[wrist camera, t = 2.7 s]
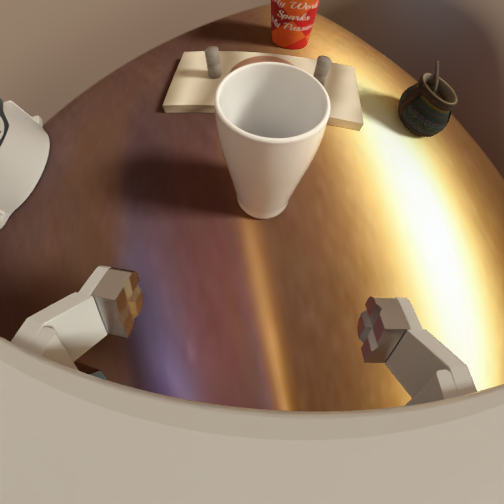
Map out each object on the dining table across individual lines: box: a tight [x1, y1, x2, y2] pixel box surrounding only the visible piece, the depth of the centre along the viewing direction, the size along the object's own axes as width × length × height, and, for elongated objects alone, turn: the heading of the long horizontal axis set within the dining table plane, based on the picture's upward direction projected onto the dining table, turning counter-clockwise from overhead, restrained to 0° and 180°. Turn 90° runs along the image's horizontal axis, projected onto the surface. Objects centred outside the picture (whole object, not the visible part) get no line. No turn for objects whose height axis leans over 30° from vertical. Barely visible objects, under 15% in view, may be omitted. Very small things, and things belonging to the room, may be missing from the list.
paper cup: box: [271, 0, 320, 49], centre depth 27 cm, size 8×8×14 cm
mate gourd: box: [398, 59, 457, 137], centre depth 26 cm, size 7×8×10 cm
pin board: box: [163, 46, 363, 131], centre depth 29 cm, size 24×11×6 cm, turn 84°
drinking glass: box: [214, 62, 331, 219], centre depth 21 cm, size 7×7×15 cm
